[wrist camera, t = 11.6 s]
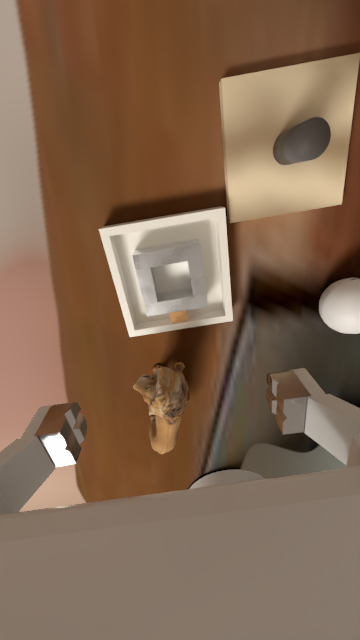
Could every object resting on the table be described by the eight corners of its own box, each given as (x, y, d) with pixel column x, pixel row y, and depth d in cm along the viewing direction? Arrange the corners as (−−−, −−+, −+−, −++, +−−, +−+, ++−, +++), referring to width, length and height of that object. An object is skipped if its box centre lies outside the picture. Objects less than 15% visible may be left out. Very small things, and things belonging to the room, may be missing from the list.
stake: (335, 203, 24) (373, 207, 19) (227, 221, 24) (241, 229, 20) (351, 58, 19) (407, 19, 15) (218, 83, 20) (234, 52, 15)
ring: (197, 238, 24) (200, 243, 22) (206, 307, 27) (209, 317, 25) (135, 249, 24) (132, 255, 22) (151, 316, 28) (149, 326, 25)
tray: (228, 312, 28) (232, 320, 27) (131, 327, 29) (129, 337, 27) (220, 206, 23) (225, 207, 22) (103, 226, 24) (98, 229, 22)
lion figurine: (138, 339, 29) (128, 395, 21) (184, 336, 30) (191, 391, 22) (151, 428, 36) (146, 496, 28) (188, 425, 36) (195, 493, 28)
